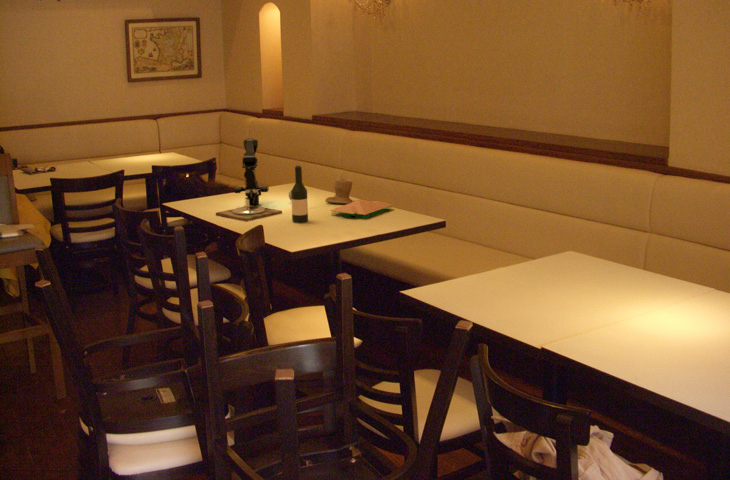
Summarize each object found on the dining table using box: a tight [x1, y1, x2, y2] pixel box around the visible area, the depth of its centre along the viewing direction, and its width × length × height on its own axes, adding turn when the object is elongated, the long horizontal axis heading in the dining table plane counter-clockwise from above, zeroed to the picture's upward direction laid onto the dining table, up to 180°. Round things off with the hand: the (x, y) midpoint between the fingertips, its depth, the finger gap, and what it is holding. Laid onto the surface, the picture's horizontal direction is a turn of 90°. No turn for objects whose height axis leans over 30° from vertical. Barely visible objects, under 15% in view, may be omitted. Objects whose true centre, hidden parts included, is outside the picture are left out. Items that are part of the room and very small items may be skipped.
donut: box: [288, 187, 293, 202], centre depth 444 cm, size 10×4×10 cm, turn 121°
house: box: [329, 198, 393, 220], centre depth 413 cm, size 23×33×8 cm
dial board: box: [215, 205, 283, 222], centre depth 414 cm, size 26×26×2 cm
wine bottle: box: [291, 164, 309, 224], centre depth 391 cm, size 8×8×30 cm
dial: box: [232, 196, 266, 215], centre depth 413 cm, size 22×18×6 cm
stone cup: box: [324, 177, 354, 205], centre depth 440 cm, size 15×12×15 cm
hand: (252, 204), depth 421 cm, fingers closed
